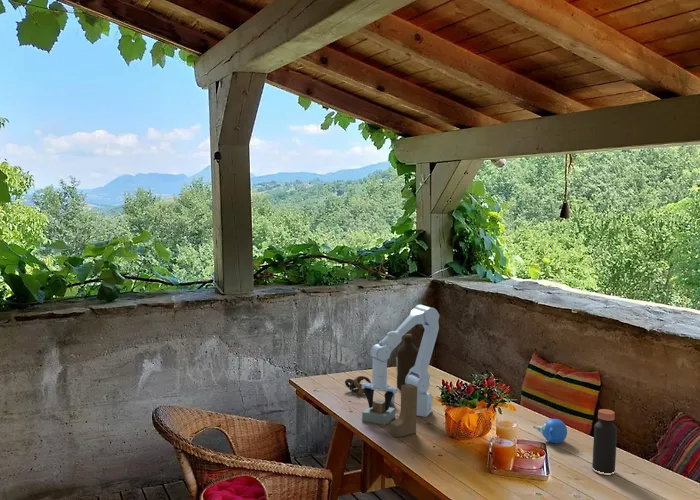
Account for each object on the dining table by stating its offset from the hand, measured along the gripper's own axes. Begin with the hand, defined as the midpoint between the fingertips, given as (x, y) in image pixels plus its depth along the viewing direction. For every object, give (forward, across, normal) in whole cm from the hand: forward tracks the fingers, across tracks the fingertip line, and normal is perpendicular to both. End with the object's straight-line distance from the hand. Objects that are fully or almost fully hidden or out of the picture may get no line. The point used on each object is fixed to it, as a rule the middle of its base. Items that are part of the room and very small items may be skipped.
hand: (378, 408), depth 239 cm
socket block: (+4, 0, 0) cm, 4 cm away
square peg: (+4, 0, 0) cm, 4 cm away
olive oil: (+4, -4, +44) cm, 44 cm away
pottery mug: (+4, -21, +27) cm, 35 cm away
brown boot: (+4, +14, -10) cm, 18 cm away
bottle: (+4, +83, -10) cm, 84 cm away
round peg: (+4, -2, +17) cm, 18 cm away
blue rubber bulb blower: (+4, +64, +8) cm, 65 cm away
